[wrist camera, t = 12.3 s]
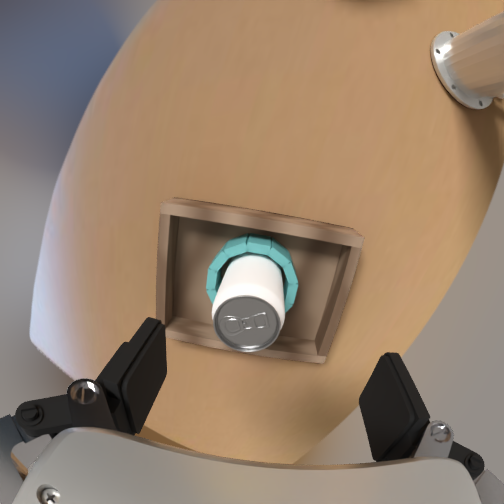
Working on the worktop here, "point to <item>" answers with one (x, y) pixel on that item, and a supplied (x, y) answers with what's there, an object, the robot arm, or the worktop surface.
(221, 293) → the can
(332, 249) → the walled box
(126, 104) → the worktop surface
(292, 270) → the inlet collar
